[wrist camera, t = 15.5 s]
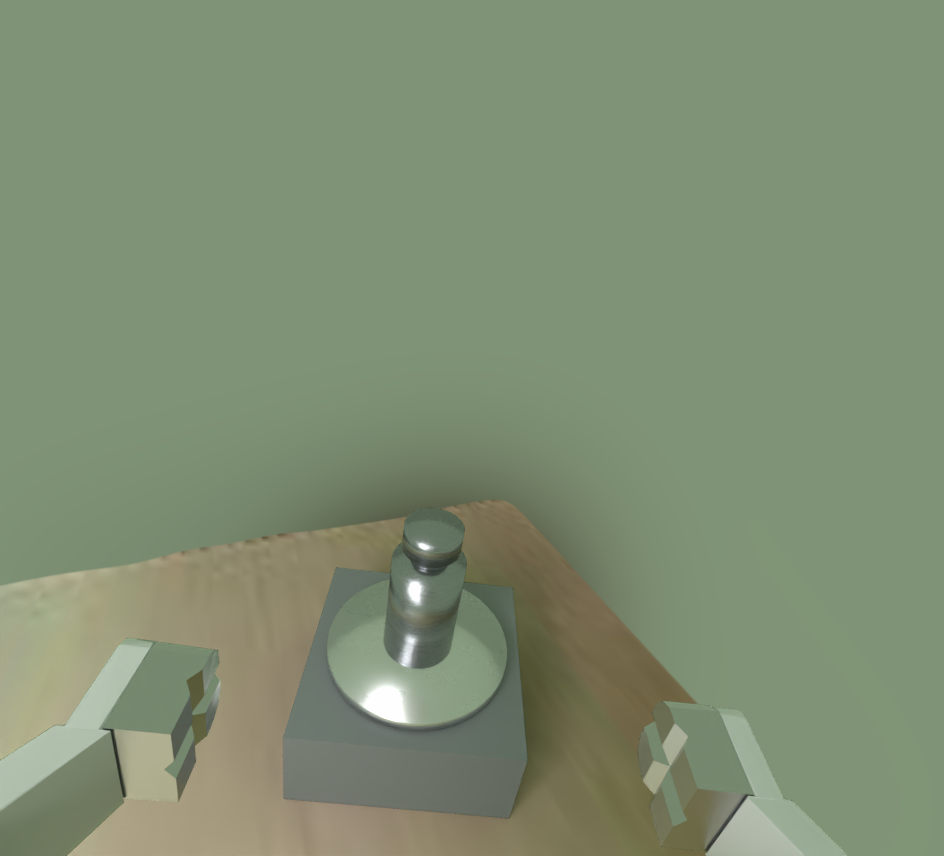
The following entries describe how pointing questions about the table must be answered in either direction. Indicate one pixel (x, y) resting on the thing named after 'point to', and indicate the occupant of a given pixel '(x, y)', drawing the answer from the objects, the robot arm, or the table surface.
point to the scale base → (405, 733)
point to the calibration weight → (425, 589)
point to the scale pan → (408, 689)
